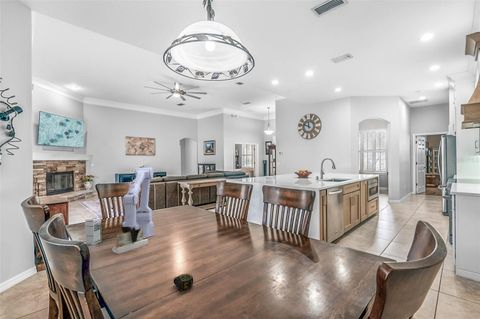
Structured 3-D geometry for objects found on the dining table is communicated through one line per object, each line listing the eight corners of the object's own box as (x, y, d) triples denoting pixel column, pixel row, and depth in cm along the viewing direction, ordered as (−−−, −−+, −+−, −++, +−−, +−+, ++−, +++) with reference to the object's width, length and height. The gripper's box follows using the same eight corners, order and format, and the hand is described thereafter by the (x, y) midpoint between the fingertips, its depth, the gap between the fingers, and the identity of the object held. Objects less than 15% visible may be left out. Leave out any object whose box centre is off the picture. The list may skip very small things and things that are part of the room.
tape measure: (172, 285, 92) (172, 276, 92) (189, 280, 96) (189, 271, 96) (178, 293, 86) (178, 283, 86) (196, 288, 90) (196, 278, 90)
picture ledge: (141, 242, 140) (141, 236, 140) (148, 244, 136) (148, 238, 136) (111, 251, 126) (111, 244, 126) (118, 254, 122) (118, 247, 122)
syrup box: (93, 245, 135) (93, 219, 135) (85, 244, 136) (85, 219, 136) (101, 241, 141) (101, 217, 141) (93, 240, 142) (93, 216, 142)
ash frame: (140, 242, 137) (140, 228, 137) (143, 243, 136) (143, 229, 136) (116, 250, 126) (116, 235, 126) (118, 251, 124) (118, 236, 124)
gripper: (116, 215, 132) (116, 239, 132) (130, 219, 123) (130, 245, 123) (129, 213, 138) (129, 236, 138) (142, 216, 129) (142, 241, 129)
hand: (130, 240), depth 131 cm, fingers open, 7 cm apart
